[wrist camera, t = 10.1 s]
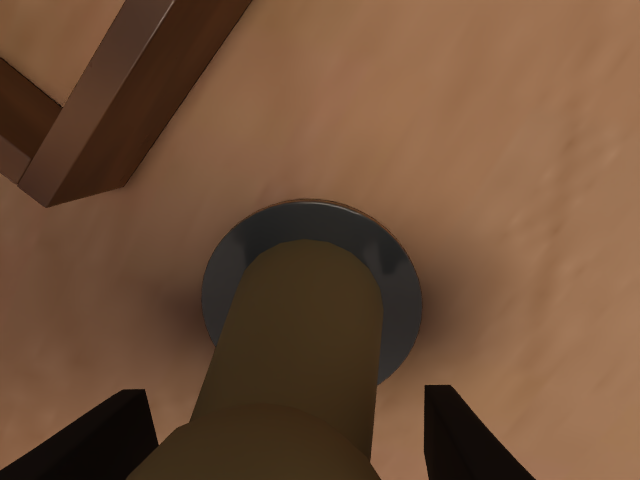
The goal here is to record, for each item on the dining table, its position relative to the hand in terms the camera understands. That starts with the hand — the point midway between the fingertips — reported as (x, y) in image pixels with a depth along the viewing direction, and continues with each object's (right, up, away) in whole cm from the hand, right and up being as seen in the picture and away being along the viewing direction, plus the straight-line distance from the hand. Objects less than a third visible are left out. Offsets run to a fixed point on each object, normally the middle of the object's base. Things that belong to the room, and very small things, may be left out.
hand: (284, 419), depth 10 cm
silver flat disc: (0, +2, +6) cm, 6 cm away
